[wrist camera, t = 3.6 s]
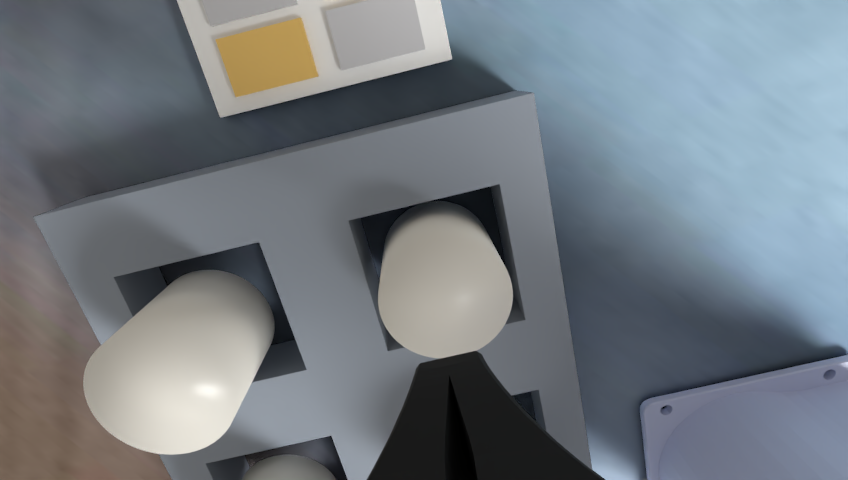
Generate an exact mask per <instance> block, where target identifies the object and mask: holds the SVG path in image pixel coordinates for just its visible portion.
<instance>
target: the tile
mask: <svg viewBox="0 0 848 480" xmlns="http://www.w3.org/2000/svg"><path fill="white" fill-rule="evenodd" d="M177 2H178V5H179V7H180V10H181V13H182V16H183V18H184V21H185V24H186V26H187V29H188V32H189V35H190V37H191V40H192V43H193V45H194V48H195V51H196V54H197V56H198V59H199V62H200V64H201V67H202V70H203V73H204V75H205V78H206V81H207V83H208V86H209V89H210V92H211V94H212V97H213V100H214V102H215V105H216V108H217V111H218V113H219V116H220V118H222V117H227V116H230V115H234V114H238V113H242V112H246V111H250V110H254V109H258V108H262V107H266V106H270V105H274V104H278V103H282V102H286V101H290V100H294V99H298V98H302V97H306V96H310V95H314V94H318V93H322V92H326V91H330V90H333V89H337V88H341V87H345V86H349V85H353V84H357V83H361V82H365V81H369V80H373V79H377V78H381V77H385V76H389V75H393V74H397V73H401V72H405V71H409V70H413V69H417V68H421V67H425V66H429V65H433V64H436V63H440V62H444V61H448V60H452V55H451V50H450V45H449V41H448V36H447V31H446V26H445V21H444V16H443V11H442V6H441V1H440V0H177Z"/></svg>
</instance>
